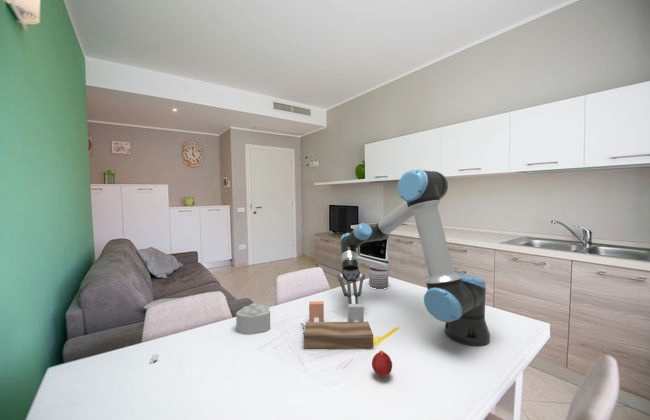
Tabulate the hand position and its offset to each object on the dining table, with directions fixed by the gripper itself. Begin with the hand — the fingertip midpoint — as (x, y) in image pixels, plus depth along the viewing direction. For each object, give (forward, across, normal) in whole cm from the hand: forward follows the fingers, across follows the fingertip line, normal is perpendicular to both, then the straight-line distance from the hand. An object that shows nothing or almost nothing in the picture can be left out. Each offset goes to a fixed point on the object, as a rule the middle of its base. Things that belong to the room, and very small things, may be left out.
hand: (353, 311), depth 112 cm
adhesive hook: (+21, +68, +13) cm, 72 cm away
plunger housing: (+14, +8, +7) cm, 17 cm away
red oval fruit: (+27, -4, +20) cm, 34 cm away
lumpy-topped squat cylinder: (+6, +41, -1) cm, 42 cm away
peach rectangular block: (+6, +16, 0) cm, 17 cm away
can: (-29, -20, -37) cm, 51 cm away
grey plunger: (+8, 0, +2) cm, 9 cm away
